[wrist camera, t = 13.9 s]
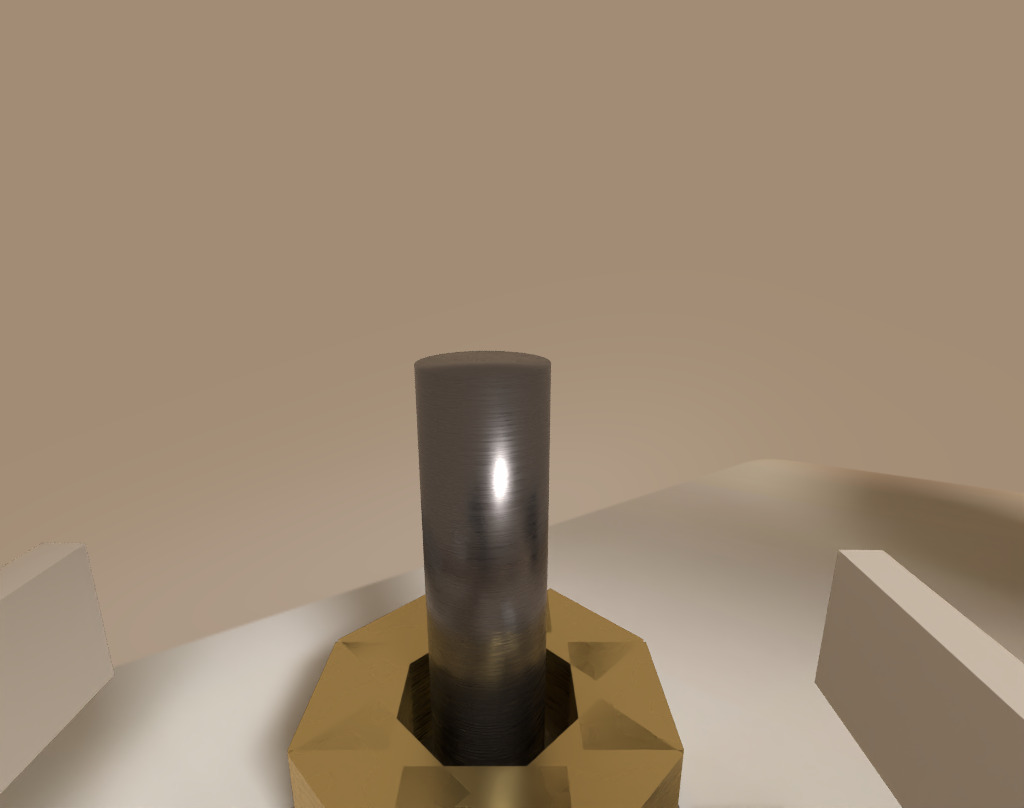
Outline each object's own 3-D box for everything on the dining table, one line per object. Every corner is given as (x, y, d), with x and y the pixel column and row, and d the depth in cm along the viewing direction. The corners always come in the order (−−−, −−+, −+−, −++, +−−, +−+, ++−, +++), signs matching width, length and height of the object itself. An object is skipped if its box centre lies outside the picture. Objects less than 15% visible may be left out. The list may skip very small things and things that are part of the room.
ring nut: (630, 662, 24) (636, 580, 23) (741, 1035, 13) (762, 906, 12) (358, 662, 24) (351, 580, 23) (219, 1037, 13) (193, 907, 12)
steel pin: (540, 731, 20) (546, 350, 16) (547, 832, 17) (556, 376, 13) (441, 732, 20) (425, 351, 16) (427, 832, 17) (402, 377, 13)
